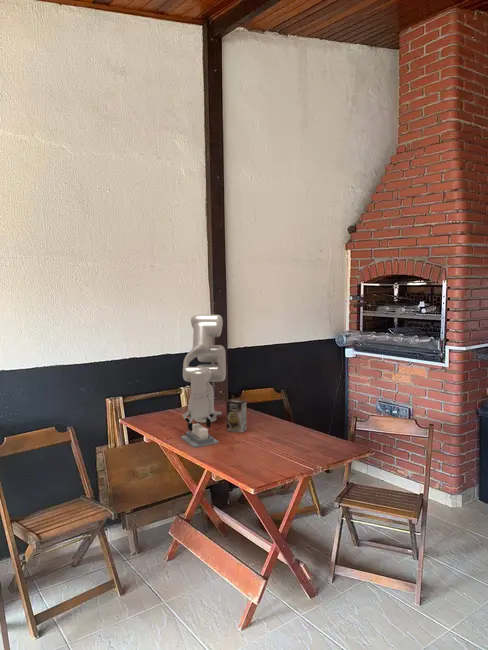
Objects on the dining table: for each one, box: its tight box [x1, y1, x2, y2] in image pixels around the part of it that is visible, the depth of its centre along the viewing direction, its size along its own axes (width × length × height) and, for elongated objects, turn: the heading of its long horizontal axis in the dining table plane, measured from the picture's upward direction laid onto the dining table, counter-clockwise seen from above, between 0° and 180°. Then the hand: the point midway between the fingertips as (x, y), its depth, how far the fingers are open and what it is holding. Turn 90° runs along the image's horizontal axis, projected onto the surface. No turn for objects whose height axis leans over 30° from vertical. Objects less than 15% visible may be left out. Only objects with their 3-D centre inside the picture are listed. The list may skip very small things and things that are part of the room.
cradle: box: [180, 430, 220, 449], centre depth 263 cm, size 13×17×3 cm
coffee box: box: [226, 398, 247, 434], centre depth 279 cm, size 9×6×16 cm
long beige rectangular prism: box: [191, 422, 209, 440], centre depth 263 cm, size 4×12×6 cm, turn 29°
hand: (199, 428), depth 263 cm, fingers open, 9 cm apart
